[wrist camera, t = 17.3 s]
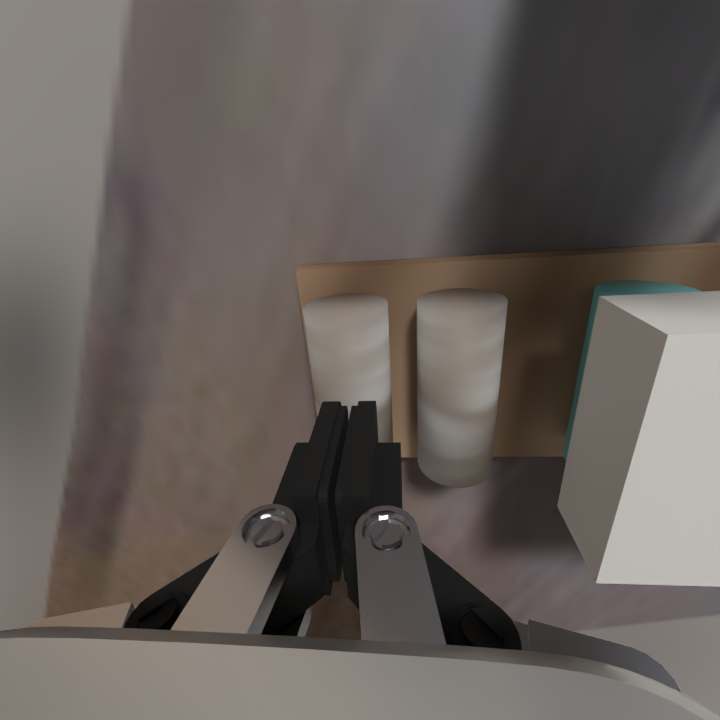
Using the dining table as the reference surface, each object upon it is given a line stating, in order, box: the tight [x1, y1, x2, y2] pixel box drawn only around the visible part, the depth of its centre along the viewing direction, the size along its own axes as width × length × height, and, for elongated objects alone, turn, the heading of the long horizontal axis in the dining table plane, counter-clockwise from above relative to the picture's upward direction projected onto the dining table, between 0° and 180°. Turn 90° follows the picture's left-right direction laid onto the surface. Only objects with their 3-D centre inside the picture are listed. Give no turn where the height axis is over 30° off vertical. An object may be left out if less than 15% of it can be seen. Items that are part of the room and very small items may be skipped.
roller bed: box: [296, 242, 720, 488], centre depth 13 cm, size 18×9×8 cm, turn 94°
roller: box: [563, 280, 702, 461], centre depth 14 cm, size 7×3×3 cm
